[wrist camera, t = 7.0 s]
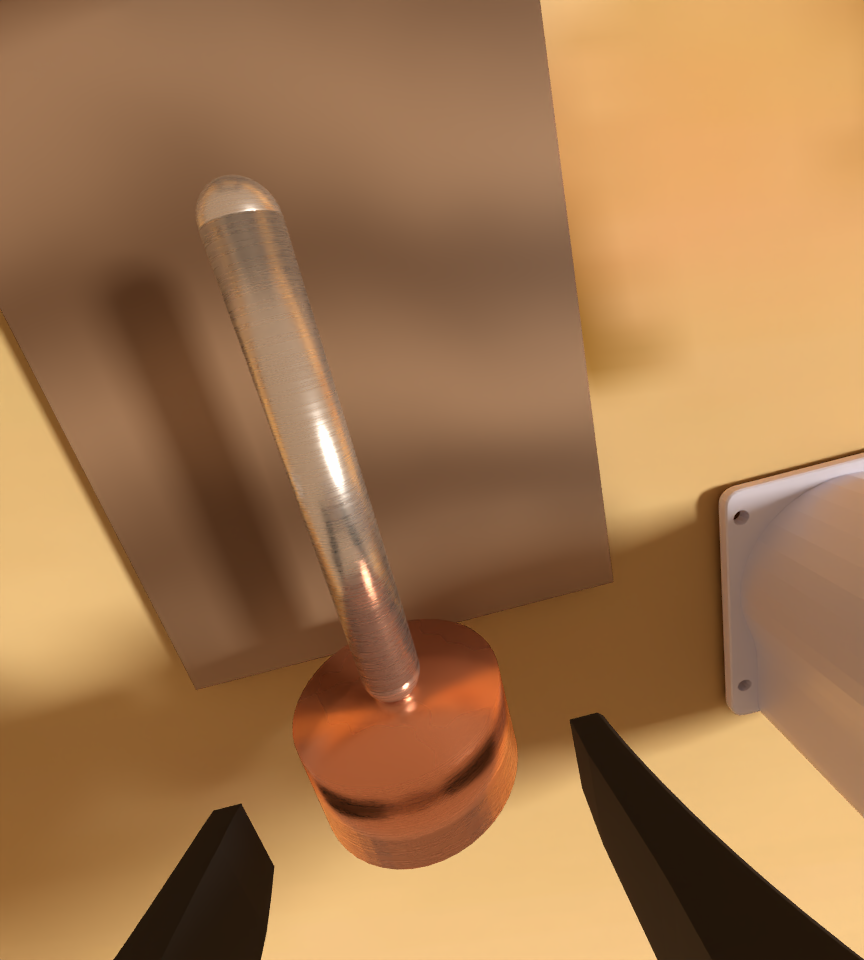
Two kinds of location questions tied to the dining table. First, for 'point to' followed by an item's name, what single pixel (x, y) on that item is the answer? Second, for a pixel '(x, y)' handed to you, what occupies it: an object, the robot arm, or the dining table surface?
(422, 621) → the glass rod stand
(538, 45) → the board
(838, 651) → the robot arm
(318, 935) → the dining table surface
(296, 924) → the dining table surface
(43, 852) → the dining table surface
